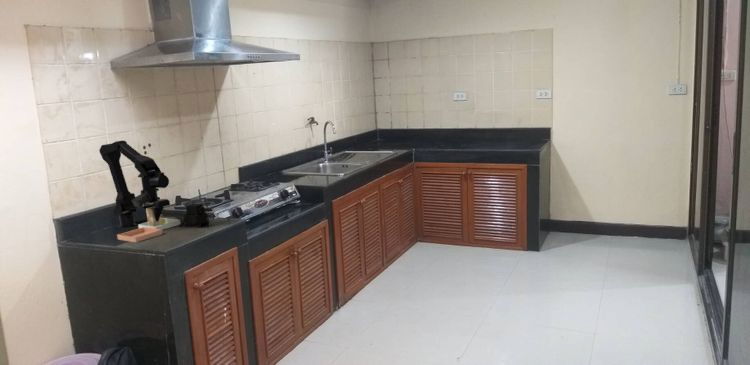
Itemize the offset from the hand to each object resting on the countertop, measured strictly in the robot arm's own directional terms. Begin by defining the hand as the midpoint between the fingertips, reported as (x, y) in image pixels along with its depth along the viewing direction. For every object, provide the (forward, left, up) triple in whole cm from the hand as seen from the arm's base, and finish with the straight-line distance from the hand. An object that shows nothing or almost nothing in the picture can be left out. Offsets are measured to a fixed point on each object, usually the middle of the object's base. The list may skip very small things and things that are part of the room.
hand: (154, 220), depth 270 cm
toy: (+18, +11, -4) cm, 22 cm away
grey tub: (-1, +3, -4) cm, 5 cm away
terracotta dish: (+6, -12, -4) cm, 14 cm away
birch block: (0, 0, -2) cm, 2 cm away
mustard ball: (-3, +6, -4) cm, 8 cm away
